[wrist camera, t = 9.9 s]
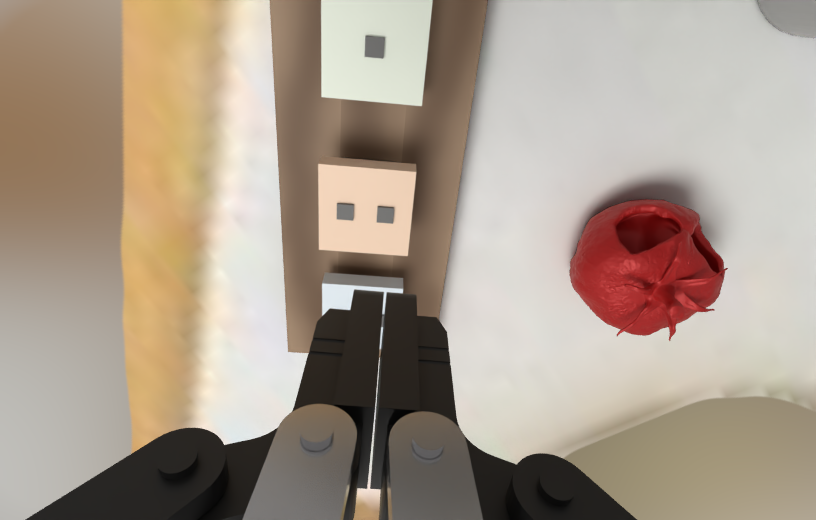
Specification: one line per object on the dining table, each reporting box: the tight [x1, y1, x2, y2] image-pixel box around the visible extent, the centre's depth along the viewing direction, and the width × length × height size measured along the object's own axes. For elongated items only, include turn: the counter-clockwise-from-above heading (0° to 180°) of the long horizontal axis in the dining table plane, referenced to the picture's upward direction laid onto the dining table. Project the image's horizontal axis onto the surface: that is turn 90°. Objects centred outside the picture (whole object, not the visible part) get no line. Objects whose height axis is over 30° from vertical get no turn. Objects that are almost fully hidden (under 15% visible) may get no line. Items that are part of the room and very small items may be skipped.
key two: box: [318, 156, 416, 256], centre depth 30 cm, size 6×6×4 cm
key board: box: [270, 0, 488, 357], centre depth 33 cm, size 12×30×2 cm, turn 175°
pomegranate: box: [570, 199, 728, 341], centre depth 33 cm, size 10×10×9 cm
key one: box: [321, 0, 433, 106], centre depth 26 cm, size 6×6×4 cm
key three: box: [322, 273, 403, 349], centre depth 35 cm, size 6×6×4 cm
